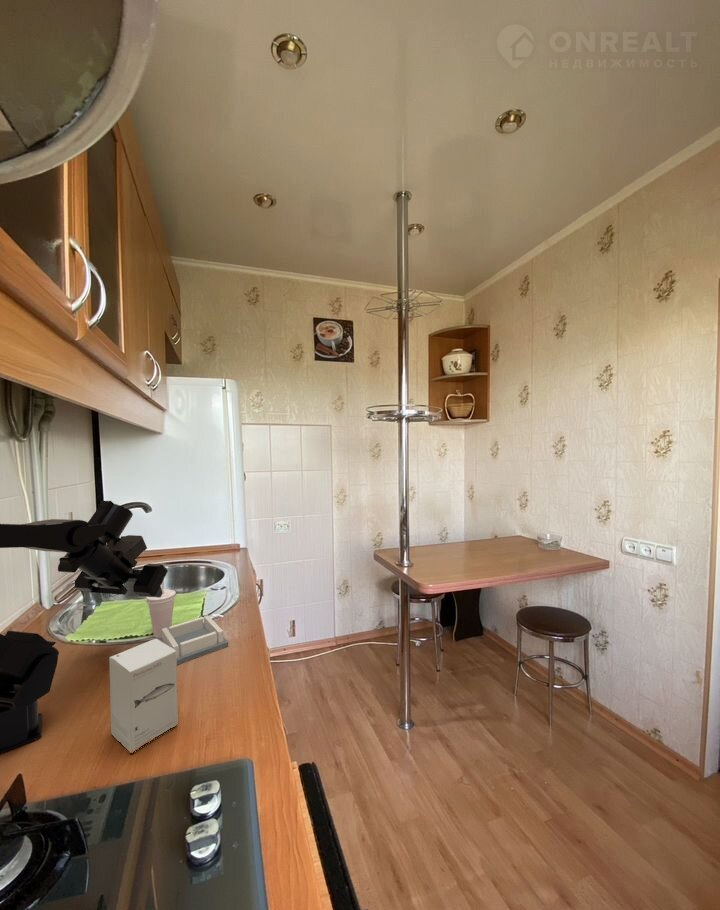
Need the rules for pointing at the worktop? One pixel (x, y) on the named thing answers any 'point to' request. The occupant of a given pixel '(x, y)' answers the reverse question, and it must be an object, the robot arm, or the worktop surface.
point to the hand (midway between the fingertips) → (143, 593)
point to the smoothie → (161, 610)
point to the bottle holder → (194, 638)
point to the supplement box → (143, 693)
